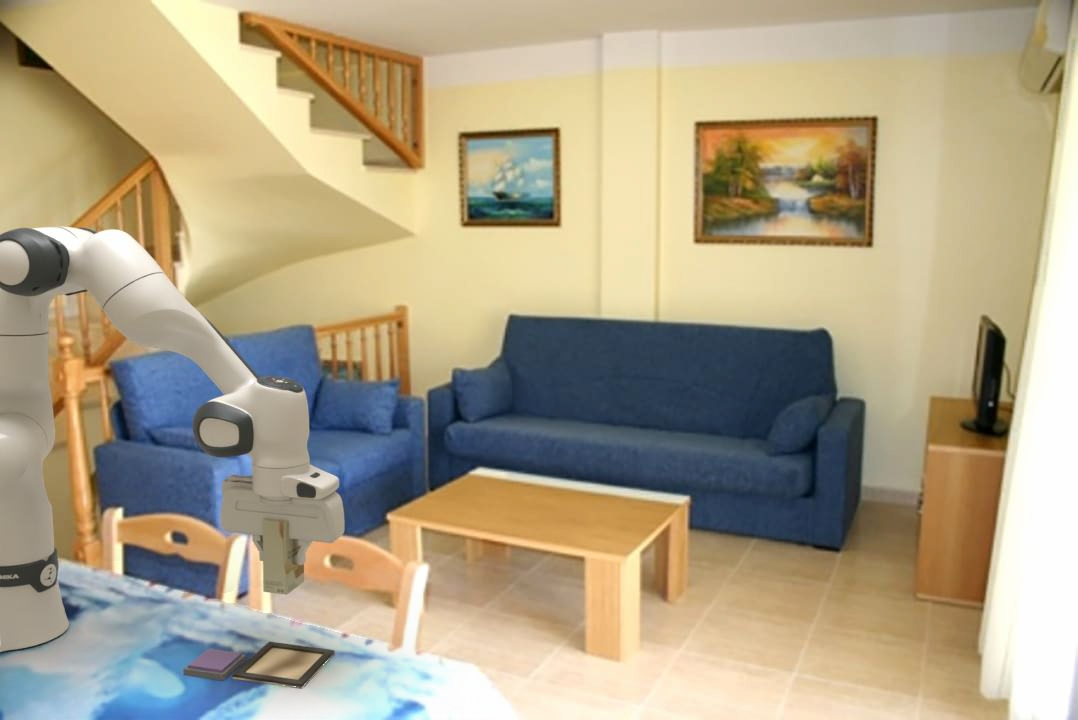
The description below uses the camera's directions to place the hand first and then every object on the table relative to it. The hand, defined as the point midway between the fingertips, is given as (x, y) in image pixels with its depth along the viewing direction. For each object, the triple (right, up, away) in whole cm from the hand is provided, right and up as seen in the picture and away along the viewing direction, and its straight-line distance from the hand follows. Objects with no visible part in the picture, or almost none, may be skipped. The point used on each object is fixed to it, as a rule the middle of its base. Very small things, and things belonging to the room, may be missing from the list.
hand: (282, 562), depth 151 cm
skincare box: (0, -5, +1) cm, 5 cm away
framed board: (0, -18, +3) cm, 18 cm away
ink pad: (-11, -18, +2) cm, 21 cm away
